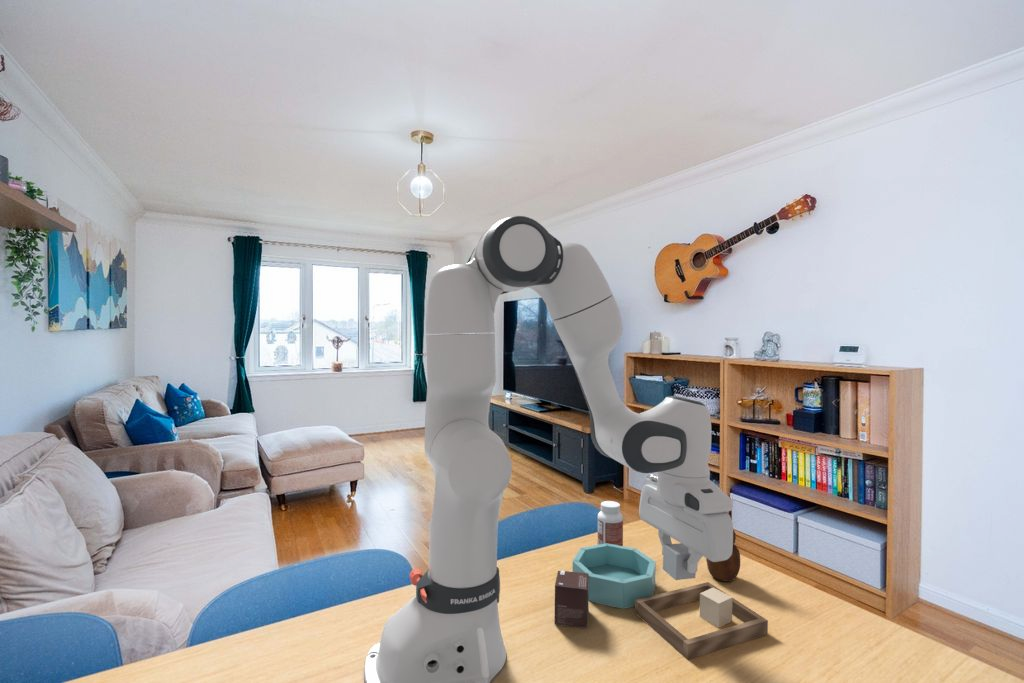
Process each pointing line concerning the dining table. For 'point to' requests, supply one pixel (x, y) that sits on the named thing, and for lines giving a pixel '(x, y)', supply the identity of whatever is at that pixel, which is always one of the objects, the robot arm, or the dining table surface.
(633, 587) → the bowl
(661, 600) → the frame
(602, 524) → the pill bottle
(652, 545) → the dining table surface
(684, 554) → the pale grey cube
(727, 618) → the beige matte cube
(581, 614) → the box
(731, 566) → the wooden figurine
